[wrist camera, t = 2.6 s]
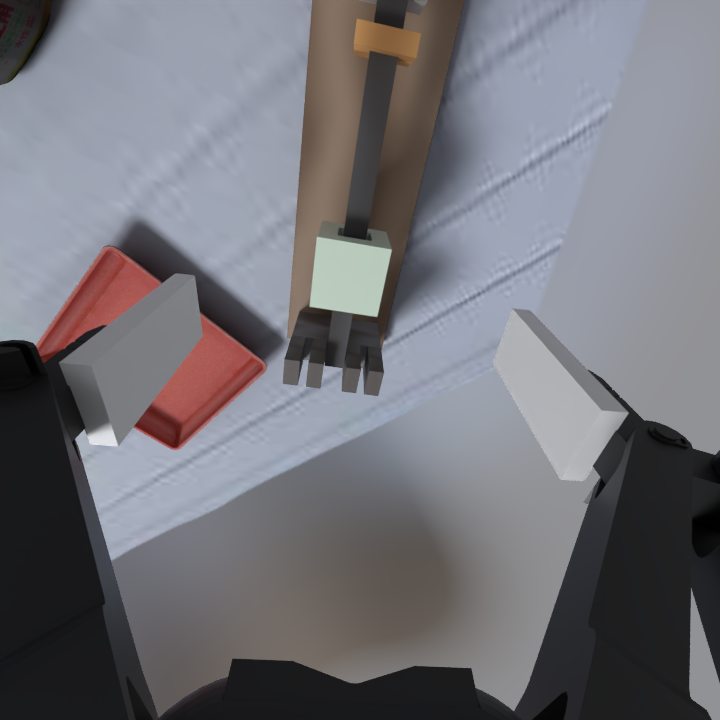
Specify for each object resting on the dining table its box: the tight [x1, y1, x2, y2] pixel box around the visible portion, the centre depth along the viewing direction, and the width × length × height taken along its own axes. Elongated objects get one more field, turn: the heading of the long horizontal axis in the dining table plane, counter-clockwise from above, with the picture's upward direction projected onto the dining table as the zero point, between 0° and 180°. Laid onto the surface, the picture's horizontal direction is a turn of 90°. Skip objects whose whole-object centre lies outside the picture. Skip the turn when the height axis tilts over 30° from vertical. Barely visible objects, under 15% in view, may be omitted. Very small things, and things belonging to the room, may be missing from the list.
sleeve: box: [310, 221, 392, 317], centre depth 27 cm, size 5×5×5 cm
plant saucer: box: [36, 246, 267, 450], centre depth 39 cm, size 18×18×3 cm
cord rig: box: [283, 0, 464, 396], centre depth 27 cm, size 10×30×10 cm, turn 170°
